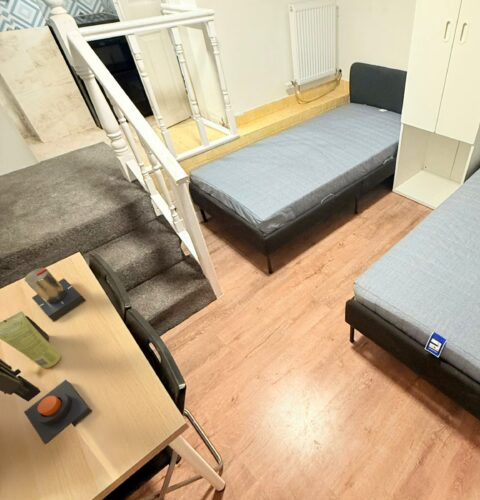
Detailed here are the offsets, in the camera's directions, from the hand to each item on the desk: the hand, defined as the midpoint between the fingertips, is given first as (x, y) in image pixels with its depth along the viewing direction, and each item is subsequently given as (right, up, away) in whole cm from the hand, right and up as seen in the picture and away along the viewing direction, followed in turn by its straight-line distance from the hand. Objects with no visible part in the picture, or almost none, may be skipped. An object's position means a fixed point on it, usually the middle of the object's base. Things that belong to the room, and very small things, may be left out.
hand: (33, 394), depth 75 cm
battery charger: (-16, +5, +21) cm, 27 cm away
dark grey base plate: (0, -8, +8) cm, 11 cm away
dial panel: (-19, +16, +33) cm, 41 cm away
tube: (-10, +2, +18) cm, 21 cm away
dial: (-19, +18, +31) cm, 40 cm away
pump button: (0, -5, +5) cm, 8 cm away
